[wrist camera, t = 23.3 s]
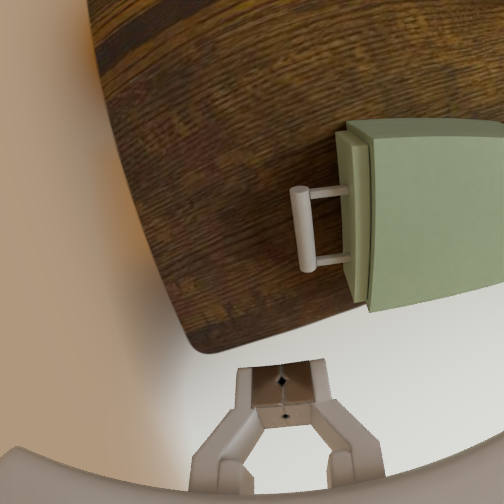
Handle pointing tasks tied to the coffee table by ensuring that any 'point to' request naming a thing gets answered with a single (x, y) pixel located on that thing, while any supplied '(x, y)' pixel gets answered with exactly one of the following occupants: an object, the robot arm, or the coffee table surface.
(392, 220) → the cabinet
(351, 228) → the drawer
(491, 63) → the coffee table surface
